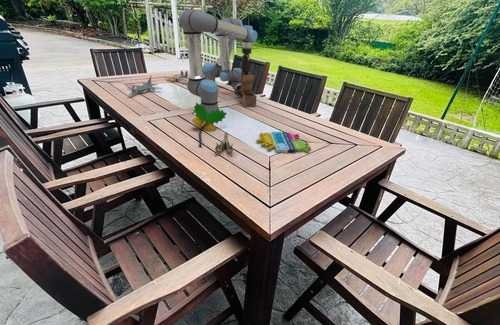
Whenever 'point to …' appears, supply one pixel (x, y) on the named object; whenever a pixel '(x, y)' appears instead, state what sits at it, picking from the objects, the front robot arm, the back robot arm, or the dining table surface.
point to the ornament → (207, 117)
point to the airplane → (142, 88)
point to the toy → (178, 77)
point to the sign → (283, 142)
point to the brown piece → (247, 82)
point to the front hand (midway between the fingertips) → (245, 78)
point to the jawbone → (224, 145)
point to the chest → (248, 99)
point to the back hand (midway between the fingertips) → (247, 95)
